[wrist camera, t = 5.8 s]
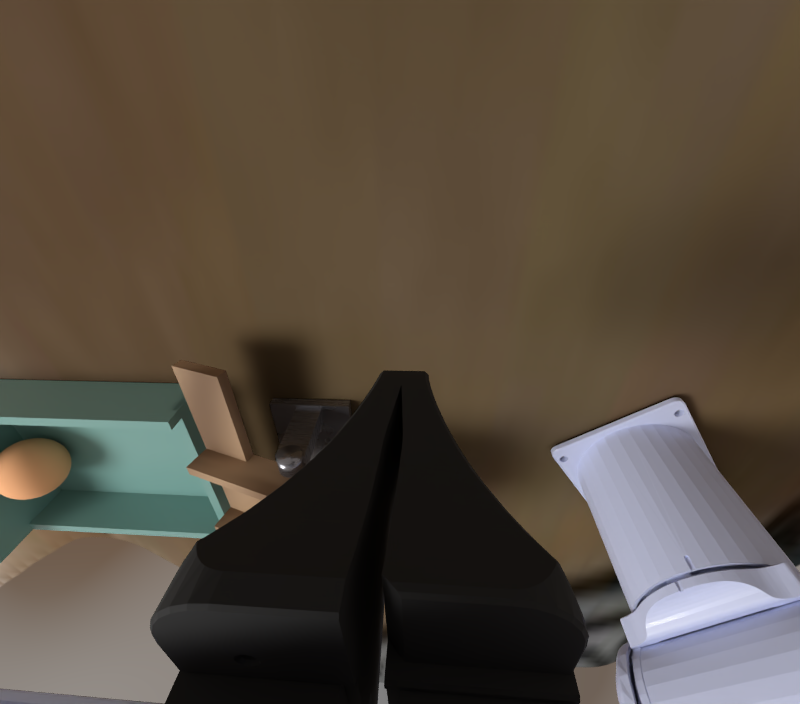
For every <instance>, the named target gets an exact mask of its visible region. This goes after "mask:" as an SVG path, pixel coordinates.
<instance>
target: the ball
mask: <svg viewBox="0 0 800 704" xmlns="http://www.w3.org/2000/svg"><path fill="white" fill-rule="evenodd" d="M70 469H71V456H70V453H69V452H68V450H67V449H66V448H65V447H64V446H63V445H62V444H60V443H58V442H56V441H54V440H51V439H46V438H31V439H26V440H22V441H19V442H17V443H14V444H13V445H11V446H9V447H7V448H6V449H4V450H3V451H2V452H1V453H0V494H1V495H3V496H5V497H8V498H12V499H18V500H26V499H33V498H37V497H41V496H43V495H46V494H48V493H50V492H51V491H53V490H55V489H56V488H57V487H59V486H60V485H61V484H62V483H63V482H64V480H65V479H66V478H67V476H68V474H69V472H70Z"/></svg>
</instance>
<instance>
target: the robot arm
mask: <svg viewBox="0 0 800 704" xmlns="http://www.w3.org/2000/svg"><path fill="white" fill-rule="evenodd" d="M678 410H679V411H678ZM676 411H677V412H676ZM551 453H552V456H553V458H554V459H555V460H556V462H557V463H558V464H559V466H560V467H561V468H562V470H563V471H564V472H565V474H566V475H567V476H568V477H569V479H570V480H571V481H572V483H573V484H574V485H575V487H576V488H577V489H578V491H579V492H580V493H581V494H582V496H583V497H584V498H585V500H586V501H587V502H588V505H589V507H590V510H591V512H592V515H593V517H594V520H595V522H596V525H597V527H598V530H599V532H600V535H601V537H602V540H603V542H604V545H605V547H606V550H607V552H608V555H609V557H610V560H611V562H612V565H613V567H614V570H615V572H616V575H617V577H618V580H619V582H620V585H621V587H622V590H623V592H624V595H625V597H626V600H627V602H628V605H629V607H630V610H631V612H632V613H631V614H629V615H627V616H625V617H623V618H621V619H620V621H621V623H622V626H623V629H624V631H625V634H626V637H627V639H628V642H629V643H626V644H624V645H622V646H621V647H620V649H619V651H618V654H617V659H616V688H617V695H618V700H619V704H800V572H799V571H798V569H797V568H796V567H795V566H794V564H793V563H792V562H791V561H790V559H789V558H788V557H787V556H786V554H785V553H784V552H783V551H782V549H781V548H780V547H779V546H778V544H777V543H776V542H775V541H774V539H773V538H772V537H771V536H770V534H769V533H768V532H767V531H766V529H765V528H764V527H763V526H762V524H761V523H760V522H759V521H758V519H757V518H756V517H755V516H754V514H753V513H752V512H751V511H750V509H749V508H748V507H747V506H746V504H745V503H744V502H743V501H742V499H741V498H740V497H739V496H738V494H737V493H736V492H735V491H734V489H733V488H732V487H731V486H730V484H729V483H728V482H727V481H726V479H725V478H724V477H723V476H722V474H721V473H720V472H719V471H718V469H717V467H716V465H715V463H714V461H713V459H712V457H711V455H710V453H709V451H708V449H707V447H706V445H705V443H704V441H703V439H702V437H701V434H700V432H699V430H698V428H697V426H696V424H695V422H694V420H693V418H692V416H691V414H690V412H689V410H688V408H687V406H686V404H685V402H684V401H683V400H682V399H681V398H678V397H674V398H670V399H668V400H665V401H663V402H660V403H658V404H656V405H653V406H651V407H648V408H646V409H643V410H641V411H639V412H636V413H634V414H631V415H629V416H626V417H624V418H622V419H619V420H617V421H614V422H612V423H610V424H607V425H605V426H602V427H600V428H597V429H595V430H593V431H590V432H588V433H585V434H583V435H581V436H578V437H576V438H573V439H571V440H568V441H566V442H564V443H561V444H559V445H556V446H554V447H553V448H552V449H551ZM563 456H564V457H563ZM384 603H385V613H386V623H387V633H388V645H387V657H386V668H385V681H384V687H385V688H386V689H387V695H388V703H389V704H579V703H580V695H579V691H578V687H577V683H576V679H575V675H574V668H575V667H576V665H577V663H578V661H579V659H580V658H581V656H582V654H583V652H584V650H585V648H586V646H587V642H588V638H589V635H588V632H587V629H586V624H585V621H584V618H583V614H582V612H581V609H580V607H579V605H578V602H577V600H576V597H575V595H574V593H573V590H572V588H571V586H570V584H569V582H568V580H567V578H566V576H565V574H564V572H563V570H562V568H561V566H560V564H559V562H558V561H557V560H556V559H554V558H553V557H552V556H551V555H550V554H549V553H548V552H547V551H546V550H545V549H544V548H543V547H542V546H541V545H540V544H539V543H538V542H537V541H536V540H534V539H533V538H532V537H531V536H530V535H529V534H528V533H527V532H526V531H525V530H524V529H523V527H522V526H521V525H520V524H519V523H518V522H517V521H516V520H515V519H514V518H513V517H512V516H511V515H510V514H509V513H508V511H507V510H506V509H505V508H504V507H503V506H502V504H501V503H500V502H499V501H498V500H497V498H496V497H495V496H494V495H493V494H492V492H491V491H490V490H489V489H488V488H487V486H486V485H485V484H484V483H483V482H482V480H481V479H480V477H479V476H478V475H477V473H476V472H475V471H474V469H473V468H472V467H471V465H470V464H469V462H468V461H467V459H466V458H465V456H464V455H463V453H462V452H461V450H460V448H459V447H458V445H457V443H456V442H455V440H454V438H453V436H452V435H451V433H450V431H449V429H448V427H447V425H446V423H445V421H444V419H443V417H442V415H441V413H440V410H439V408H438V406H437V404H436V401H435V398H434V396H433V393H432V390H431V386H430V382H429V375H428V374H427V373H426V372H425V371H383V372H382V373H381V374H380V375H379V377H378V379H377V380H376V382H375V384H374V385H373V387H372V388H371V390H370V392H369V393H368V394H367V396H366V397H365V399H364V400H363V402H362V403H361V404H360V406H359V407H358V408H357V410H356V411H355V412H354V414H353V415H352V416H351V418H350V419H349V420H348V421H347V422H346V423H345V425H344V426H343V427H342V428H341V429H340V431H339V432H338V433H337V434H336V435H335V436H334V437H333V438H332V440H331V441H330V442H329V443H328V444H327V445H326V446H325V447H324V448H323V449H322V450H321V451H320V452H319V453H318V454H317V455H316V456H315V457H314V458H313V459H312V460H311V461H309V462H308V463H307V464H306V465H305V466H304V467H303V468H302V469H300V470H299V471H298V472H297V473H296V474H295V475H294V476H292V477H291V478H290V479H289V480H288V481H286V482H285V483H284V484H283V485H281V486H280V487H279V488H277V489H276V490H275V491H273V492H272V493H271V494H269V495H268V496H267V497H265V498H264V499H263V500H261V501H260V502H259V503H257V504H256V505H254V506H253V507H252V508H250V509H249V510H247V511H246V512H244V513H243V514H241V515H240V516H238V517H236V518H235V519H233V520H232V521H230V522H228V523H227V524H225V525H223V526H222V527H220V528H219V529H217V530H215V531H214V532H212V533H210V534H209V535H207V536H206V537H204V538H202V539H200V540H199V541H197V542H196V544H195V545H194V547H193V548H192V550H191V551H190V553H189V554H188V556H187V557H186V559H185V560H184V561H183V563H182V565H181V566H180V568H179V570H178V571H177V573H176V575H175V577H174V578H173V580H172V582H171V584H170V586H169V587H168V589H167V591H166V593H165V595H164V596H163V598H162V600H161V602H160V604H159V605H158V607H157V609H156V611H155V613H154V614H153V616H152V618H151V621H150V629H151V633H152V635H153V637H154V639H155V640H156V642H157V644H158V645H159V646H160V647H161V648H162V650H163V651H164V652H165V653H166V654H167V656H168V657H169V658H170V659H171V660H172V662H173V663H174V664H175V665H176V666H177V668H178V669H179V670H180V672H179V674H178V676H177V678H176V680H175V682H174V685H173V687H172V689H171V691H170V693H169V696H168V698H167V700H166V702H165V704H377V703H378V688H379V673H380V657H381V643H382V629H383V615H384ZM0 704H162V703H152V702H141V701H130V700H118V699H108V698H96V697H86V696H75V695H64V694H54V693H42V692H32V691H21V690H10V689H0Z"/></svg>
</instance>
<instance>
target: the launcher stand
mask: <svg viewBox="0 0 800 704" xmlns="http://www.w3.org/2000/svg"><path fill="white" fill-rule="evenodd" d="M269 405H270V408H271V412H272V416H273V420H274V423H275V427H276V431H277V434H278V438H279V442H280V445H279V447H278V450H277V452H276V454H275V457H276V462H277V465H278V469H279V472H280V474H281V475H282V476H284V477H287V478H291V477H292V476H294V475H295V474H296V473H297V472H298V471H299V470H300V469H302V468H303V467H304V466H305V465H306V464H307V463H308V462H309V461H311V460H312V459H313V458H314V457H315V456H316V455H317V454H318V453H319V452H320V451H321V450H322V449H323V448H324V447H325V446H326V445H327V444H328V443H329V442H330V441H331V440H332V438H333V437H334V436H335V435H336V434H337V433H338V432H339V431H340V429H341V428H342V427H343V426H344V425H345V423H346V422H347V421H348V420H349V419H350V418H351V416H352V412H351V404H350V400H319V399H281V398H273V399H272V401H271V402H270V404H269Z"/></svg>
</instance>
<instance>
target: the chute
mask: <svg viewBox="0 0 800 704" xmlns="http://www.w3.org/2000/svg"><path fill="white" fill-rule="evenodd" d="M172 368H173V370H174V373H175V375H176V378H177V380H178V382H179V385H180V387H181V390H182V392H183V394H184V397H185V399H186V401H187V404H188V406H189V409H190V411H191V413H192V416H193V418H194V421H195V423H196V425H197V428H198V430H199V432H200V435H201V437H202V440H203V442H204V444H205V447H206V449H205V450H204V451H203V452H202V453H201V454H200V455H199V456H198V457H197V458H195V459H194V460H193V461H192V462H191V463H190V464H189V465H188V466H187V467H186V468H187V470H188V472H189V474H190V475H193V476H196V477H199V478H201V479H204V480H207V481H210V482H212V483H215V484H218V485H221V486H222V487H223V490H224V492H225V495H226V497H227V499H228V502H229V504H230V506H231V507H230V508H229V510H228V511H227V512H226V513H225V514H224V515H223V517H222V518H221V519H220V520H219V521H218V522H217V524H216V525H215V526H214V527H215V529H216V530H217V529H219V528H220V527H222V526H223V525H225V524H227V523H228V522H230V521H232V520H233V519H235V518H236V517H238V516H240V515H241V514H243V513H244V512H246V511H247V510H249V509H250V508H252V507H253V506H254V505H256V504H257V503H259V502H260V501H261V500H263V499H264V498H265V497H267V496H268V495H269V494H271V493H272V492H273V491H275V490H276V489H277V488H279V487H280V486H281V485H283V484H284V483H285V482H286V481H288V480H289V479H290V478H287V477H284V476H282V475H281V474H280V472H279V469H278V465H277V462H276V461H273V460H270V459H267V458H263V457H260V456H257V455H254V454H253V451H252V448H251V445H250V442H249V439H248V436H247V433H246V430H245V427H244V424H243V421H242V418H241V415H240V412H239V409H238V406H237V403H236V400H235V397H234V394H233V391H232V388H231V385H230V382H229V379H228V375H227V372H226V371H225V370H221V369H217V368H213V367H209V366H205V365H201V364H196V363H192V362H188V361H184V360H180V361H178V362H177V363H175V364H174V365H172ZM384 605H385V603H384Z"/></svg>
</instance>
